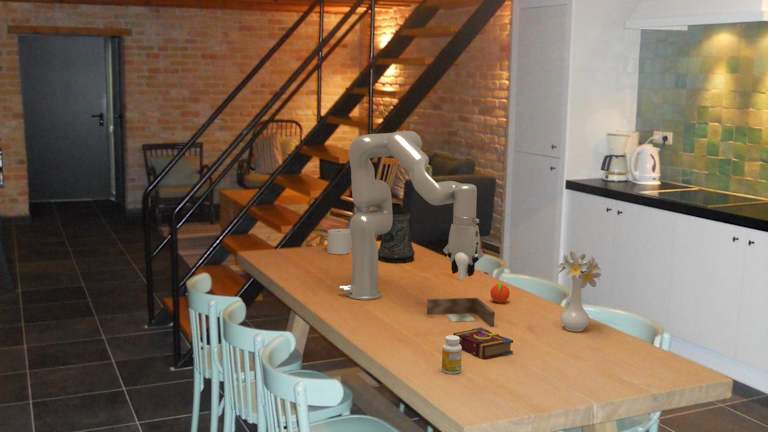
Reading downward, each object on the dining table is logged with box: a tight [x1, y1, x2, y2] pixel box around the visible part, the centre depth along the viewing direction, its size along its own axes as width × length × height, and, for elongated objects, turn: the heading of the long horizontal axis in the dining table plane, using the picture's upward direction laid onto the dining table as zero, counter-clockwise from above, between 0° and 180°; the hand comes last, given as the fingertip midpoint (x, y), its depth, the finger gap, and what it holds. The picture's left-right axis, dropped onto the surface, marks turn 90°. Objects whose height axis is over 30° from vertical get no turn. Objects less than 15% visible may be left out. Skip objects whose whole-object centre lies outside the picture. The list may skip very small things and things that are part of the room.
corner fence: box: [426, 297, 496, 328], centre depth 283 cm, size 18×18×5 cm
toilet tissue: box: [326, 228, 352, 255], centre depth 387 cm, size 11×12×10 cm
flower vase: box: [556, 250, 602, 333], centre depth 273 cm, size 13×18×25 cm
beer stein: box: [376, 202, 415, 265], centre depth 372 cm, size 16×19×25 cm
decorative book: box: [452, 326, 514, 360], centre depth 253 cm, size 11×16×5 cm
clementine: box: [490, 282, 510, 304], centre depth 306 cm, size 8×7×7 cm
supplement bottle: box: [441, 334, 463, 375], centre depth 234 cm, size 5×5×10 cm
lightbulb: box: [455, 252, 473, 282], centre depth 282 cm, size 6×6×11 cm
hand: (462, 273), depth 283 cm, fingers closed on lightbulb, 5 cm apart
